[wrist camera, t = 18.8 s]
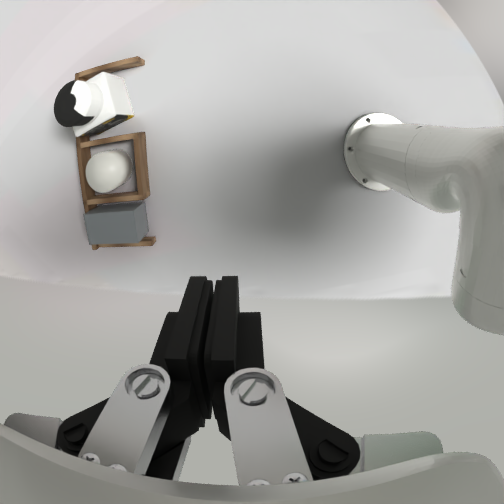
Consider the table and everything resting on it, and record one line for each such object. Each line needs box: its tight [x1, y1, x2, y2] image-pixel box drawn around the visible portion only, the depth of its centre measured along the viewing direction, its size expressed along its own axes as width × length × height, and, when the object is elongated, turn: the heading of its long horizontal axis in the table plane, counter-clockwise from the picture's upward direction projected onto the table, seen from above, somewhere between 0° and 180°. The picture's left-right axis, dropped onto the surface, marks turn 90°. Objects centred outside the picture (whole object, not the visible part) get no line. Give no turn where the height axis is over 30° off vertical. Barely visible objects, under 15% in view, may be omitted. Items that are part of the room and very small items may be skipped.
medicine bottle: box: [54, 72, 134, 137], centre depth 29 cm, size 7×7×12 cm
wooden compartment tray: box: [75, 56, 156, 250], centre depth 37 cm, size 11×30×3 cm, turn 0°
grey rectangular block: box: [84, 202, 149, 245], centre depth 40 cm, size 9×5×5 cm, turn 91°
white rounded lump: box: [86, 149, 133, 193], centre depth 37 cm, size 6×6×5 cm
